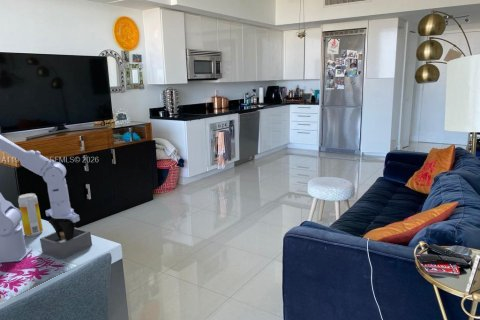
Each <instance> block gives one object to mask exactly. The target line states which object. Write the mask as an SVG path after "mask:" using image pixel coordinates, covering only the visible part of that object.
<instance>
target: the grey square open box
mask: <svg viewBox="0 0 480 320" xmlns="http://www.w3.org/2000/svg"><path fill="white" fill-rule="evenodd" d="M73 237H74V238H72V239H70V240H68V241H66V242H64V243H59V242H57V241H59V240H61V239H59V237H58V235H57V233H56V231H53V232H52V233H50V234H47V235H45V236H43V237H40V238H39V243H40V246H41V247H40V248H41V252H42V253H43V254H45V255H46V254H47V255H49V256H51V257H52V256H53V257H54V258H55V257H56V258H58V259H62V260H66V259H67V258H69V257H71V256H73V255H74V254H77V253H79V252H81V251H83V250H85V249H87V248H89V247H91V246H92V245H93V241H92V234H91V231H90V230H87V229H82V228H78V227H75V228H74V234H73Z"/></svg>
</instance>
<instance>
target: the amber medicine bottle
mask: <svg viewBox="0 0 480 320" xmlns="http://www.w3.org/2000/svg"><path fill="white" fill-rule="evenodd" d="M17 202H18V209H19V210H20V211H21V213H22V220H21V223H22V230H23V235H25V236H26V237H35V236H39V235H40V234H41V233H42V232H43V230H44V229H43V223H42V217H41V212H40V207H39V201H38V196H37V195H36V193H33V192H30V193H25V194H24V193H23V194H20V195H18V198H17Z"/></svg>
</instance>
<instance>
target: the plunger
mask: <svg viewBox="0 0 480 320" xmlns="http://www.w3.org/2000/svg"><path fill="white" fill-rule="evenodd" d="M59 232H60V238H61V240H59V241H57V242H59V243H64V242H66V241H67V240H66V238H65V235H64V232H63V230H60V231H59ZM73 238H74V237H73Z"/></svg>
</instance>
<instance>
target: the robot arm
mask: <svg viewBox="0 0 480 320" xmlns="http://www.w3.org/2000/svg"><path fill="white" fill-rule="evenodd" d="M0 151H1V152H3V153H5V154H7V155H9V156H11V157H13V158H15V159H17V160H19V162H20V165H21V166H22V167H24V168H25V169H27V170H29V171H31V172H33V173H34V174H36V175H39V176H41V177H42V179H43V181H44V182H45V183H46V185H47V186H46V187H47V193H48V199H49V204H50V208H49V209H46V210H45V215H46V217H51V218H50V219H48V223H49V224H50V225H51V226H52V228H53V230H54V232H56V233H57V235H58V237H59V239H61V238H60V232H59V231H60V230H63V232H64V235H65V238H66V240H67V241H68V240H70V239H72V238H73V234H74V228H76V224H77V223H78V222H79V221H80V220H81V218H80V215H79V214H77V213H76V212H75V211H74V210H75V209H74V208H72V207H71V202H70V196H69V189H68V184H67V180H66V177H65V176H66V175H67V169H66V166H65V165H64V164H62V162H58V161H55V160H54V159H49V158H48V157H45V156H44V155H42V154H41V151H39V150H33V149H30V150H25V149H24V148H23V147H21V146H19V145H17V144H16V143H14V142H13V141H11V140H9V139H8V138H6V137H5V136H4V135H2V134H0ZM21 222H22V213H21V211H20V208H17V207H15V206H14V204H13V203H12V202H11V201H9V200H7V199H5V197H4V196H3V194H2V192H0V264H1V263H12V262H14V263H15V262H21V261H23V259H25V257H26V256H27V255H29V253H31V252H32V251H33V248H32V247H31V248H27V247H26V245H27V244H26V241H25V237H24V235H25V234H24V229H23V225H21Z"/></svg>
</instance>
